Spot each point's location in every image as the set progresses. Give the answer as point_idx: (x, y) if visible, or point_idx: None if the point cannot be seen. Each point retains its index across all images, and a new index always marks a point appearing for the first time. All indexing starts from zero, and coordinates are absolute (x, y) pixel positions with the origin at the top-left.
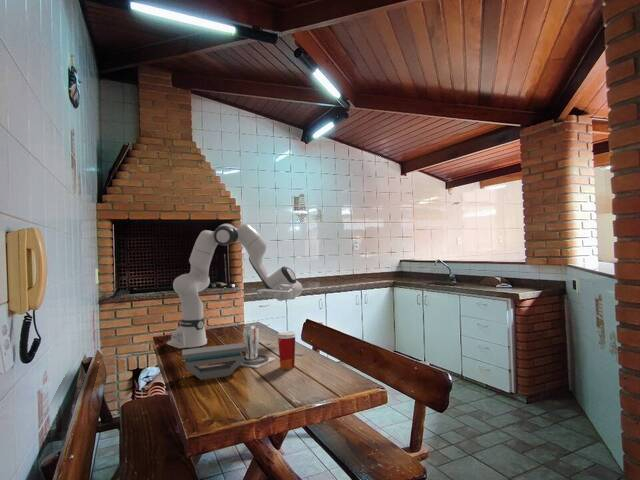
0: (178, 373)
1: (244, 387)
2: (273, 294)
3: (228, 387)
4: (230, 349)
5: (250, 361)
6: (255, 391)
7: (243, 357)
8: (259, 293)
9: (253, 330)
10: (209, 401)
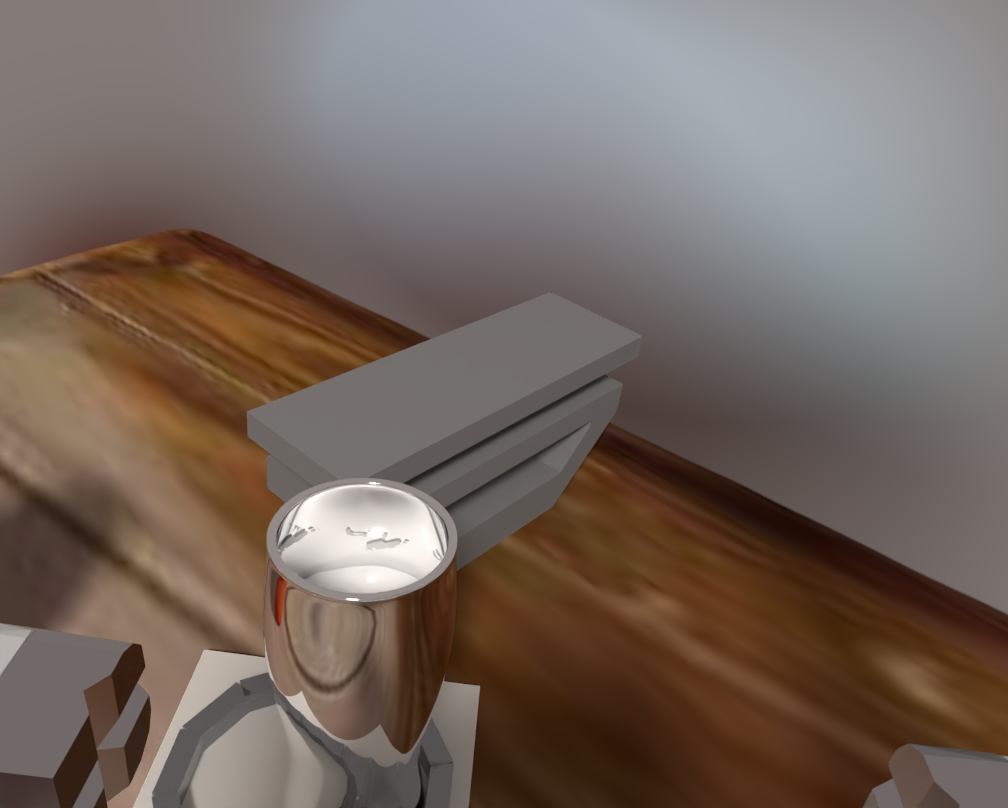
0: (671, 489)
1: (160, 424)
2: (47, 630)
3: None
4: (344, 376)
5: None
6: (77, 403)
7: (436, 755)
8: (940, 757)
9: (295, 510)
10: (258, 328)
